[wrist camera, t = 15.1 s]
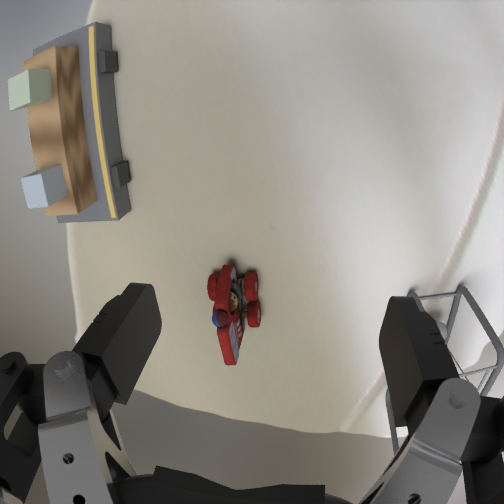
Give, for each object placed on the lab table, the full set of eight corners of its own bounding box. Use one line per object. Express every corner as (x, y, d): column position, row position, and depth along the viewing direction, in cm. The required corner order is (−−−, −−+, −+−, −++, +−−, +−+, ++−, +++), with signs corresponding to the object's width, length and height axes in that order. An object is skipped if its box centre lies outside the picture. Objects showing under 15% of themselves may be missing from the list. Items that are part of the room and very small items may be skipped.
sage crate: (29, 77, 27) (8, 80, 23) (50, 68, 26) (28, 69, 23) (31, 106, 28) (10, 111, 25) (52, 98, 28) (30, 102, 24)
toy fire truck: (255, 256, 45) (245, 300, 36) (262, 322, 51) (255, 369, 42) (208, 258, 46) (188, 300, 37) (221, 322, 52) (207, 367, 43)
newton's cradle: (407, 286, 44) (444, 371, 29) (462, 279, 43) (510, 355, 27) (384, 398, 58) (395, 468, 43) (427, 391, 56) (444, 457, 41)
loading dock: (49, 50, 32) (32, 50, 29) (117, 23, 31) (101, 19, 27) (72, 213, 46) (57, 223, 42) (137, 209, 44) (124, 220, 40)
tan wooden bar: (47, 60, 30) (23, 61, 25) (78, 47, 29) (55, 45, 25) (67, 203, 40) (47, 216, 36) (97, 200, 39) (77, 214, 35)
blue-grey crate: (40, 168, 33) (20, 178, 29) (61, 164, 32) (41, 173, 28) (47, 197, 34) (28, 208, 31) (67, 194, 34) (48, 206, 30)
